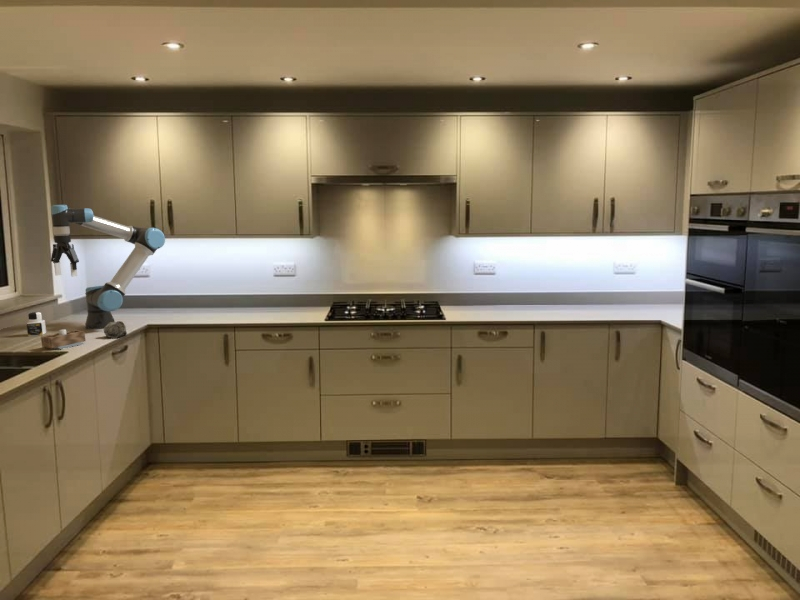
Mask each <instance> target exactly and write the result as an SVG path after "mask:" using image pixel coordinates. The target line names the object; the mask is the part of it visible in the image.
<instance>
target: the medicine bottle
mask: <svg viewBox="0 0 800 600" xmlns="http://www.w3.org/2000/svg"><path fill="white" fill-rule="evenodd" d="M26 332H27V337H36V336H37V337H38V335H40V336H45V334H46V333H47V327H46V320H45V319H43V316H42V312H39V311H35V312H29V313H28V322H27V323H26Z"/></svg>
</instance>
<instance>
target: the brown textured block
mask: <svg viewBox="0 0 800 600" xmlns="http://www.w3.org/2000/svg"><path fill="white" fill-rule="evenodd" d="M85 333H86V331H84V330H78V329H73V330H68V331H67V330H66V335H60V334H59V332H58V333H53V334H48V335H41V336H40V340H41V347H42V348H45V347H46V349H52V348H57V347H61V346H66V345H70V344H75V343H79V342H83V343H84V342H86V334H85Z"/></svg>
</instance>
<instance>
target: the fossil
mask: <svg viewBox="0 0 800 600" xmlns="http://www.w3.org/2000/svg"><path fill="white" fill-rule="evenodd" d="M126 328H127V327H126V325H125V322H123V321H115V322H110V323H109V324H107V326H105V327H104V328H103V333H104V335H105V337H107V338H108V339H111V338H112V340H113V339H119V338H121V337H123V336H125V337H126V336H127V335H128V333H127V332H128V331H127V329H126Z"/></svg>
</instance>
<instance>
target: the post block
mask: <svg viewBox="0 0 800 600" xmlns="http://www.w3.org/2000/svg"><path fill="white" fill-rule="evenodd" d="M66 332H67V329H58V333H59V334H60V335H66ZM81 344H83V345H84V342H79V343H75V344H70V345H66V346H61V347H57V348H54V349H53V350H58V349H61V350H64V349H63V348H66V349H69V348H68V347H70V348H73V347H72V346H75V347H78V346H77V345H79V346H82V345H81Z"/></svg>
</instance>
